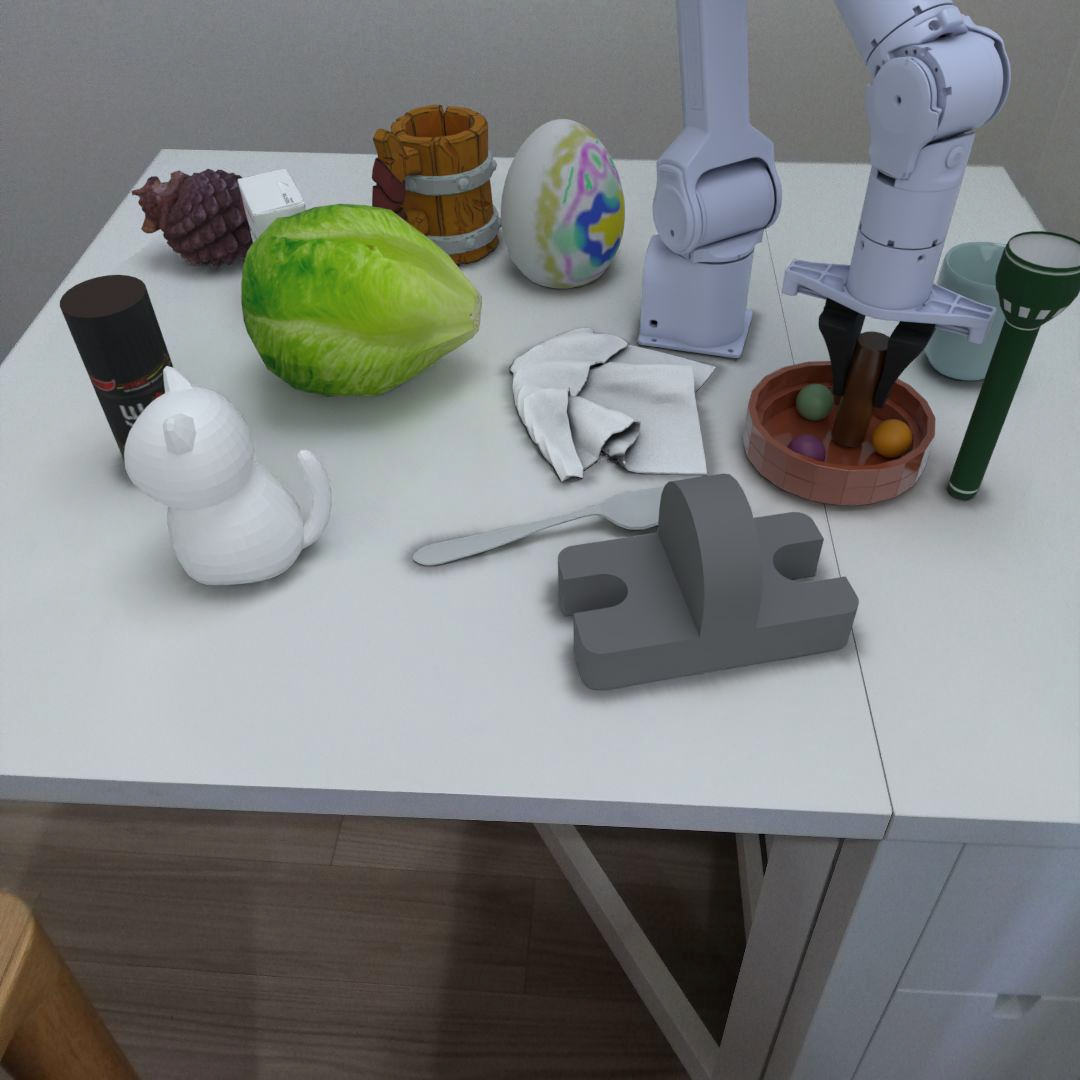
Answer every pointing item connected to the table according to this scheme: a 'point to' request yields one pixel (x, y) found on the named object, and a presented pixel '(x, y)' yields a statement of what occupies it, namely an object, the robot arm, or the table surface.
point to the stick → (860, 389)
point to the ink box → (269, 199)
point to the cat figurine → (220, 487)
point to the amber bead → (891, 438)
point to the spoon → (619, 509)
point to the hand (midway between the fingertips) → (861, 395)
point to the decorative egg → (562, 206)
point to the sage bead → (814, 402)
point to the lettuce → (353, 300)
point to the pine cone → (198, 215)
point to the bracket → (701, 591)
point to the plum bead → (808, 447)
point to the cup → (974, 279)
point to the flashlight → (1015, 339)
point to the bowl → (832, 441)
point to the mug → (440, 178)
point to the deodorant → (118, 346)
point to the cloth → (610, 404)
